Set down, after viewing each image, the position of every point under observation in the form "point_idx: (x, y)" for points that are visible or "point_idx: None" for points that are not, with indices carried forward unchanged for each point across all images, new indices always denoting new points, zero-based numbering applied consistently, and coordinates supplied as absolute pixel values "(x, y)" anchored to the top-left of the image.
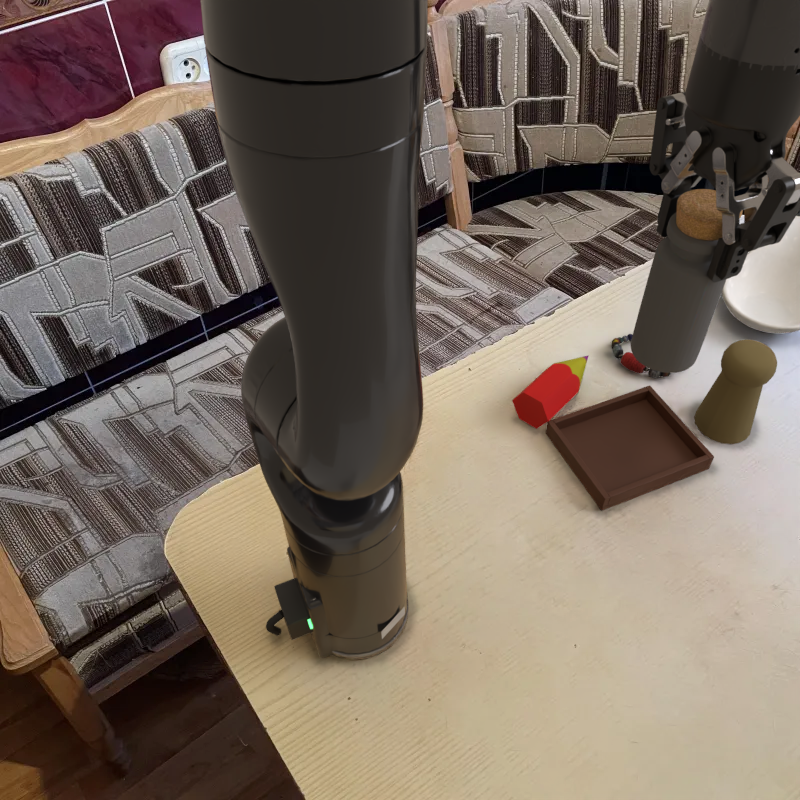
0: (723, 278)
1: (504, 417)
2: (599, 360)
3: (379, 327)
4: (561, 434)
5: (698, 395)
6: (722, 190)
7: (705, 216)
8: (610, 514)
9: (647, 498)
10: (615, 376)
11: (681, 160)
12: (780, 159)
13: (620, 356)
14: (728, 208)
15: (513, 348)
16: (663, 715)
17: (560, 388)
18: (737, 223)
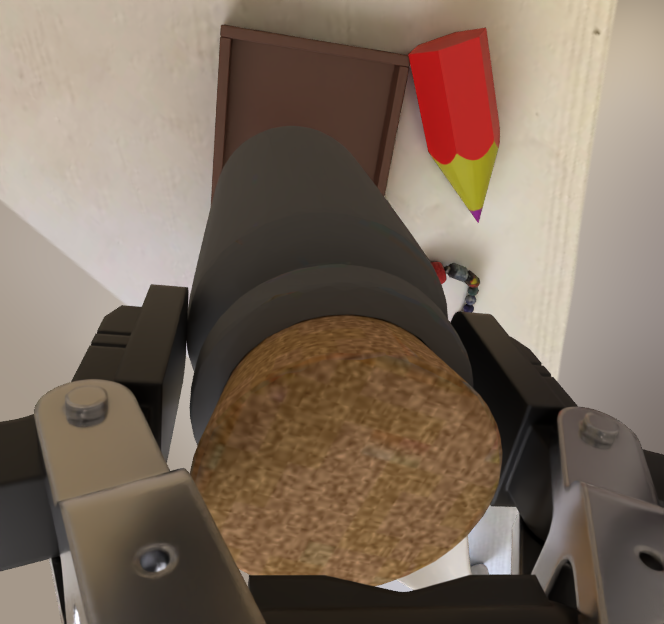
0: (116, 311)
1: (473, 13)
2: (465, 241)
3: None
4: (373, 57)
5: None
6: (161, 598)
7: (288, 420)
8: (210, 34)
9: (209, 113)
10: (426, 240)
11: (660, 586)
12: None
13: (447, 267)
14: (60, 513)
15: (577, 137)
16: None
17: (444, 111)
18: (47, 485)
